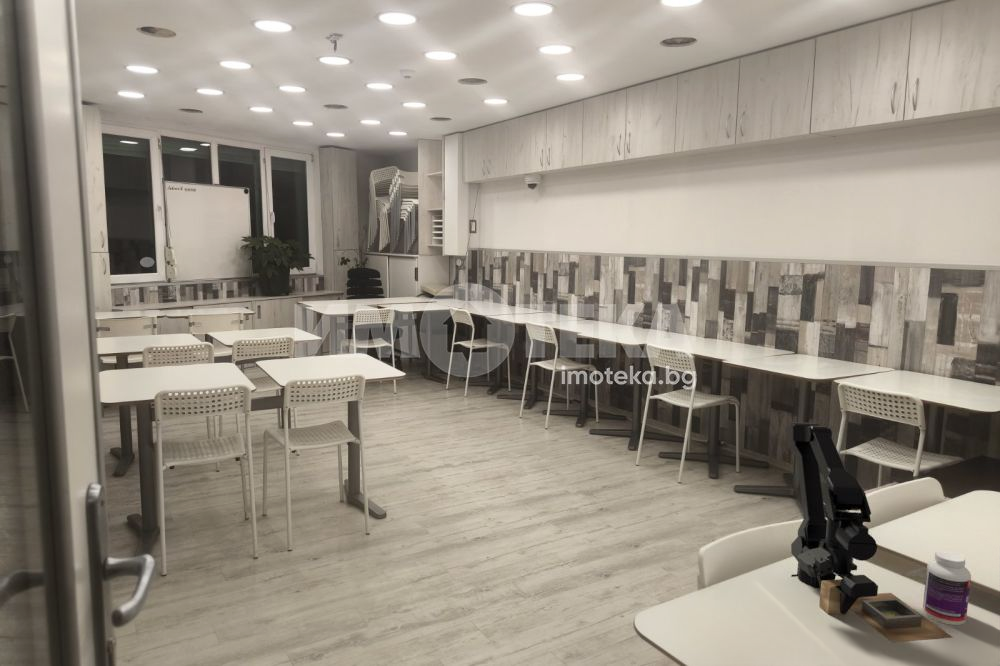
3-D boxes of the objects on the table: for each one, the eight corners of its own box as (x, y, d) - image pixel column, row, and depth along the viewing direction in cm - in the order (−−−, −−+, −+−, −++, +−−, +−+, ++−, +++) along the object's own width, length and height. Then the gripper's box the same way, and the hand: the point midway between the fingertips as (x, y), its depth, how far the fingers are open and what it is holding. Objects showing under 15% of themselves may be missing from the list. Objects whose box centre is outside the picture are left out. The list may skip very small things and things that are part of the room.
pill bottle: (972, 630, 146) (980, 566, 144) (930, 625, 148) (937, 562, 146) (955, 610, 154) (962, 549, 152) (916, 606, 155) (922, 545, 153)
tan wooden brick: (818, 610, 153) (821, 580, 152) (839, 608, 154) (842, 579, 153) (827, 617, 150) (830, 587, 149) (848, 616, 151) (851, 585, 150)
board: (835, 599, 157) (835, 596, 157) (890, 595, 160) (890, 592, 160) (891, 645, 140) (892, 642, 140) (952, 640, 142) (953, 637, 142)
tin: (861, 610, 151) (862, 600, 151) (895, 608, 153) (896, 598, 152) (885, 629, 144) (886, 619, 144) (920, 626, 146) (922, 616, 145)
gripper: (781, 523, 157) (776, 587, 159) (833, 561, 139) (827, 633, 141) (826, 520, 159) (820, 584, 161) (883, 558, 141) (875, 629, 143)
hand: (833, 606), depth 152 cm, fingers open, 6 cm apart
